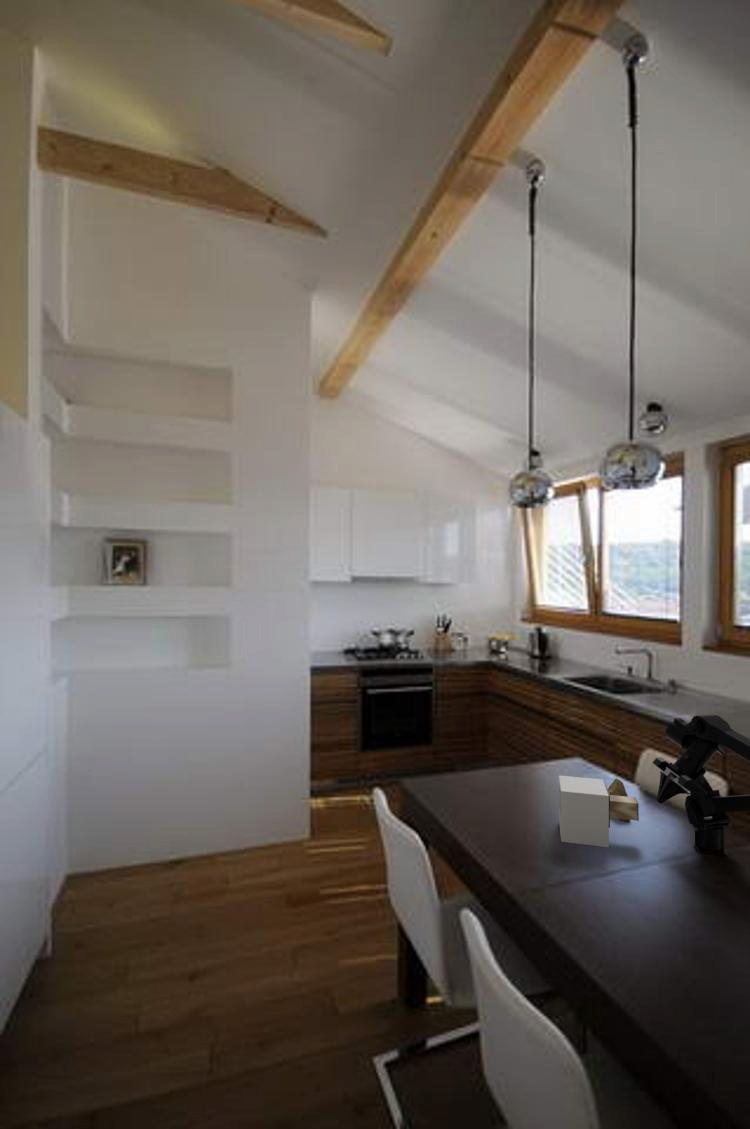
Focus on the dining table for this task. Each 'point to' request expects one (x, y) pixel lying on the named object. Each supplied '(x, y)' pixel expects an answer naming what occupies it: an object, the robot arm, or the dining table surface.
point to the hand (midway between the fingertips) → (658, 802)
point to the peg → (624, 807)
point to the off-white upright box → (584, 811)
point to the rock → (617, 790)
